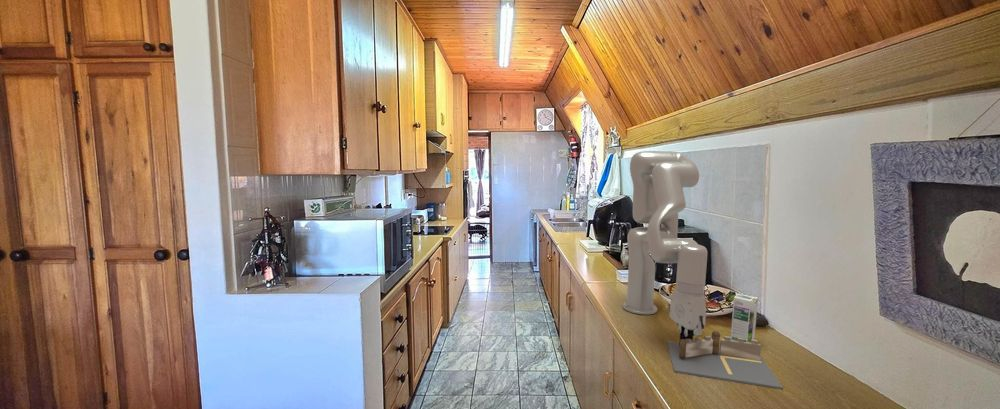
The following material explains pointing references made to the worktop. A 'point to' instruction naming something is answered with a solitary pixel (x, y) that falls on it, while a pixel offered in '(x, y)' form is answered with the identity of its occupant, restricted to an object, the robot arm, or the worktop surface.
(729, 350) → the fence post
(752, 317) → the syrup box
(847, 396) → the worktop surface
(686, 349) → the fence gate
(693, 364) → the card
